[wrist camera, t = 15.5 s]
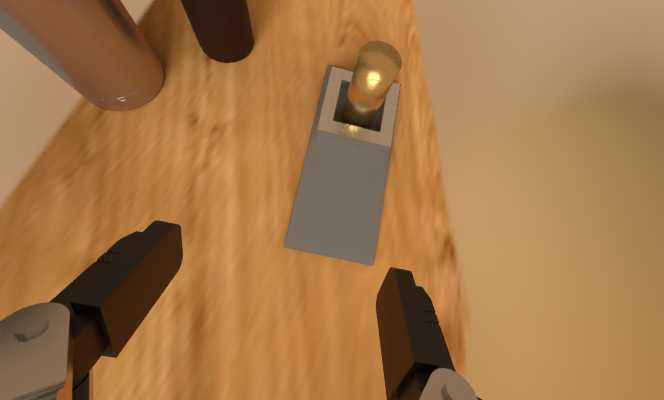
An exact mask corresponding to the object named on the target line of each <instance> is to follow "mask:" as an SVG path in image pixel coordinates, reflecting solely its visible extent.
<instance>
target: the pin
mask: <svg viewBox="0 0 664 400" xmlns="http://www.w3.org/2000/svg"><path fill="white" fill-rule="evenodd" d="M401 65H402V61H401V57H400V55H399V53H398V51H397V50H396V49H395V48H394V47H393V46H391V45H389V44H388V43H385V42H381V41H373V42H369V43H367V44H365V45H364V46H363V47H362V48H361V50H360V52H359V56H358V59H357V62H356V66H355V69H354V72H353V75H352V79H351V82H350V85H349V89H348V92H347V95H346V99H345V102H344V105H343V108H342V112H341V121H342V123H344V124H348V125H353V126H357V127H361V128H365V129H368V128H369V127H370V125H371V123H372V121H373V119H374V117H375V116H376V114H377V112H378V110H379V108H380V106H381V104H382V103H383V101H384V99H385V97H386V95H387V93H388V91H389V89H390V88H391V86H392V84H393V82H394V80H395V78H396V76H397V75H398V73H399V71H400V69H401Z"/></svg>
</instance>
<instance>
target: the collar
mask: <svg viewBox="0 0 664 400" xmlns="http://www.w3.org/2000/svg"><path fill="white" fill-rule="evenodd" d="M352 75H353V72H352V71H348V70H344V69H340V68H337V67H333V66H332V68H331V73H330V77H329V81H328V85H327V90H326V94H325V98H324V102H323V107H322V111H321V115H320V119H319V124H318V128H317V134H316V139H317V140H321V141H325V142H329V143H333V144H337V145H342V146H346V147H350V148H354V149H358V150H362V151H367V152H371V153H375V154H379V155H383V156H384V155H385V154H386V153H387V151H388V150H389V149H390V147H391V143H392V136H393V130H394V123H395V116H396V110H397V103H398V96H399V90H400V84H398V83H394V82H393V84H392V86H391V88H390V89H389V91H388V93H387V95H386V97H385V99H384V101H383V103H382V104H381V106H380V111H379V117H378V122H377V128H376V131H373V130H369V129H365V128H361V127H357V126H353V125H348V124H344V123H340V122H336V121H333V118H334V113H335V109H336V104H337V99H338V95H339V93H341V94H345V95H347V92H348V89H349V85H350V82H351V79H352Z"/></svg>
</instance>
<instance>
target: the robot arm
mask: <svg viewBox="0 0 664 400" xmlns="http://www.w3.org/2000/svg"><path fill="white" fill-rule="evenodd" d="M0 29H2V30H3V31H4V32H5V33H7V34H8V35H9V36H10V37H11V38H13V39H14V40H15V41H16V42H18V43H19V44H20V45H21V46H22V47H24V48H25V49H26V50H27V51H29V52H30V53H31V54H32V55H34V56H35V57H36V58H37V59H38V60H40V61H41V62H42V63H43V64H45V65H46V66H47V67H48V68H50V69H51V70H52V71H53V72H54V73H56V74H57V75H58V76H59V77H60V78H62V79H63V80H64V81H65V82H67V83H68V84H69V85H70V86H71V87H73V88H74V89H75V90H77V91H78V92H79V93H80V94H81V95H83V96H84V97H85V98H86V99H87V100H89V101H90V102H92V103H93V104H94V105H96V106H98V107H101V108H103V109H108V110H112V111H124V110H131V109H134V108H137V107H140V106H142V105H144V104H146V103H147V102H149V101H150V100H151V99H152V98H154V97H155V95H156V94H157V93H158V92H159V90H160V88H161V86H162V84H163V80H164V70H163V67H162V64H161V62H160V61H159V59H158V58H157V56H156V55H155V53H154V51H153V50H152V48H151V47H150V45H149V44H148V42H147V41H146V39H145V38H144V36H143V34H142V33H141V31H140V30H139V28H138V27H137V25H136V24H135V22H134V21H133V19H132V17H131V16H130V15H129V13H128V11H127V10H126V8H125V7H124V5H123V4H122V2H121V1H120V0H0ZM182 259H183V250H182V236H181V227H180V225H178V224H173V223H168V222H163V221H158V220H157V221H154V222H153V223H152V224H151V225H150V226H148V227H147V228H146V229H145V230H144V231H143V232H138V231H136V232H134V233H132V234H130V235H128V236H126V237H124V238H122V239H120V240H119V241H117V242H116V243H115V244H114V245H113V246H112V247H111V248H110V249H108V251H107V253H104V254H103V255H102V256H101V257H100V258H98V259H97V262H94V263H93V264H92V265H91V266H89V267H88V268H87V269H86V270H85V271H84V272H83V273H82V274H81V275H79V276H78V277H77V278H76V279H75V280H74V281H73V282H72V283H70V284H69V285H68V286H67V287H66V288H65V289H64V290H63V291H62V292H60V293H59V294H58V295H57V296H56V297H55V298H54V299H52V300H51V301H50V302H49V303H40V304H35V305H32V306H28V307H26V308H23V309H21V310H18V311H16V312H14V313H13V314H11V315H9V316H7V317H6V318H5V319H3V320H2V321H0V400H93V368H92V367H93V366H94V365H95V363H96V362H97V361H98V359H99V358H100V357H101V356H108V357H114V358H116V357H117V356H118V355H119V353H120V352H121V350H122V349H123V348H124V346H125V345H126V343H127V342H128V341H129V339H130V338H131V336H132V335H133V334H134V332H135V331H136V329H137V328H138V327H139V325H140V324H141V322H142V321H143V320H144V318H145V317H146V315H147V314H148V313H149V311H150V310H151V308H152V307H153V306H154V304H155V303H156V301H157V300H158V299H159V297H160V296H161V294H162V293H163V292H164V290H165V289H166V287H167V286H168V285H169V283H170V282H171V280H172V279H173V278H174V276H175V275H176V273H177V272H178V270H179V268H180V266H181V263H182ZM376 313H377V321H378V329H379V337H380V345H381V354H382V362H383V370H384V378H385V387H386V395H387V400H482V399H480V398H478V397H477V396H476V394H475V392H474V390H473V389H472V387H471V386H470V385H469V383H468V382H467V381H466V380H465V379H464V378H463V377H462V376H461V375H459V374H458V373H456V371H455V369H454V366H453V363H452V360H451V357H450V354H449V351H448V348H447V345H446V342H445V339H444V336H443V333H442V330H441V328H440V326H439V322H438V319H437V316H436V315H435V310H434V307H433V304H432V301H431V299H430V297H429V296H428V294H427V293H426V292H425V290H424V289H423V288H422V287H419V286H416V285H415V281H414V278H413V275H412V272H411V271H408V270H403V269H398V268H393V267H391V268H390V269H389V271H388V273H387V275H386V277H385V279H384V281H383V284H382V286H381V288H380V290H379V292H378V295H377V300H376Z"/></svg>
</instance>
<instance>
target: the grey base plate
mask: <svg viewBox="0 0 664 400" xmlns="http://www.w3.org/2000/svg"><path fill="white" fill-rule="evenodd" d="M331 68H332V66H330V65H328V66H327V70H326V75H325V79H324V83H323V87H322V91H321V95H320V99H319V104H318V108H317V112H316V116H315V120H314V124H313V129H312V133H311V137H310V141H309V145H308V149H307V153H306V158H305V162H304V166H303V170H302V174H301V178H300V183H299V187H298V191H297V195H296V199H295V203H294V207H293V212H292V216H291V220H290V224H289V228H288V232H287V236H286V241H285V245H284V247H285V248H289V249H294V250H299V251H304V252H309V253H313V254H318V255H323V256H328V257H333V258H337V259H342V260H347V261H352V262H357V263H361V264H366V265H374V258H375V252H376V245H377V238H378V232H379V225H380V218H381V212H382V205H383V199H384V192H385V185H386V179H387V172H388V165H389V159H390V152H391V147H390V149H389V150H388V151H387V153H386V154H385V155H384V156H383V155H379V154H375V153H371V152H367V151H362V150H358V149H354V148H350V147H346V146H342V145H337V144H333V143H329V142H325V141H321V140H317V139H316V134H317V128H318V124H319V119H320V115H321V111H322V107H323V102H324V98H325V94H326V90H327V85H328V81H329V77H330V73H331ZM340 69H341V68H340ZM344 70H345V69H344ZM348 71H349V70H348ZM394 83H395V82H394ZM400 86H401V84H400ZM399 92H400V90H399ZM345 99H346V95H345V94H341V93H339V95H338V99H337V104H336V109H335V113H334V118H333V121H336V122H340V123H342V121H341V112H342V108H343V105H344V102H345ZM398 99H399V96H398ZM397 106H398V103H397ZM379 111H380V108H379V110H378V112H377V114H376V116H375V117H374V119H373V121H372V123H371V125H370V127H369V128H368V129H369V130H373V131H376V128H377V122H378V117H379ZM396 112H397V110H396ZM395 119H396V116H395ZM394 126H395V123H394ZM393 132H394V130H393ZM392 139H393V136H392ZM391 146H392V143H391Z"/></svg>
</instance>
